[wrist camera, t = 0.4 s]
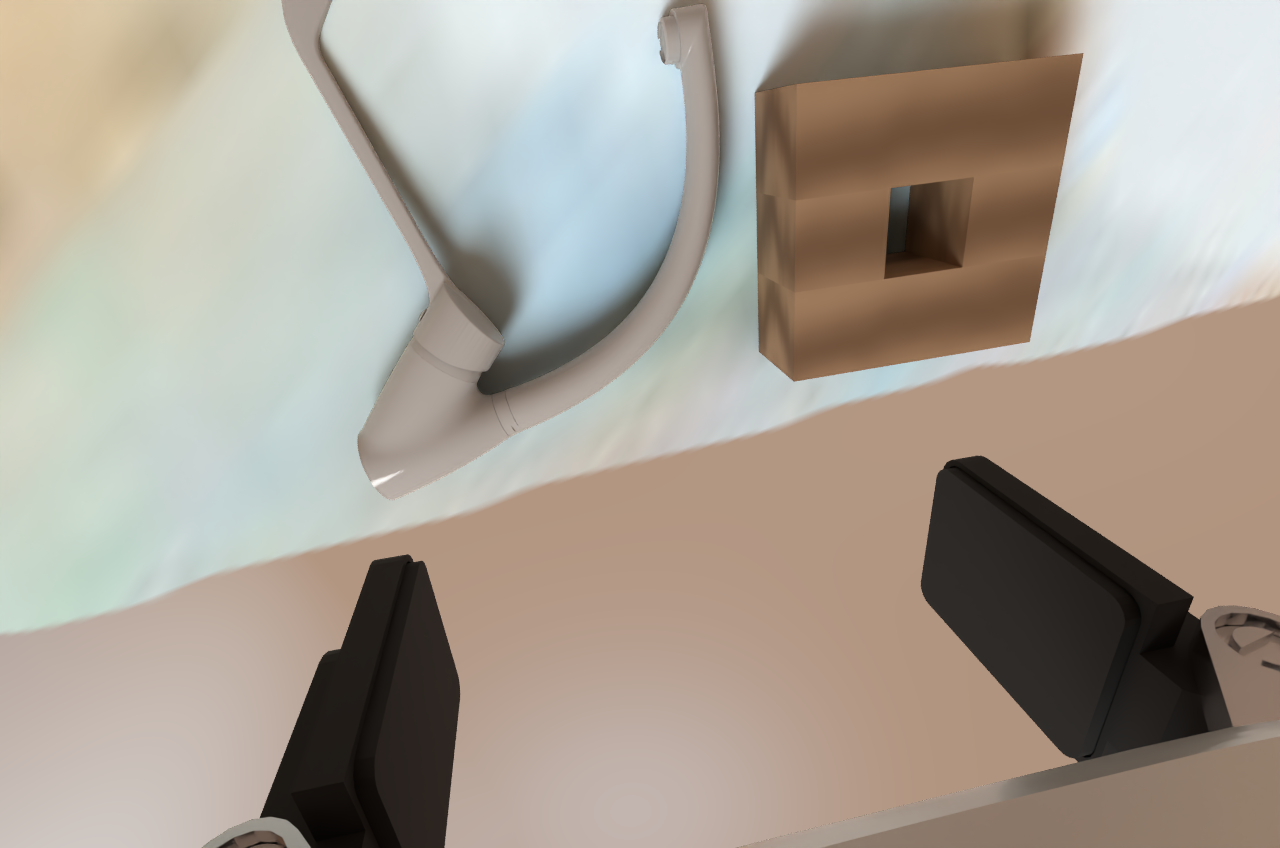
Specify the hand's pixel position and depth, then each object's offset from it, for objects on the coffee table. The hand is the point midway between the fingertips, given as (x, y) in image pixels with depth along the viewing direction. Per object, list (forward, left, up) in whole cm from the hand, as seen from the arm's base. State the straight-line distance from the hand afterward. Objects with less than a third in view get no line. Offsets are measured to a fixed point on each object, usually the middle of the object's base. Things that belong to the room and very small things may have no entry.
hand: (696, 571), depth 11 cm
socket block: (-1, +20, -30) cm, 36 cm away
